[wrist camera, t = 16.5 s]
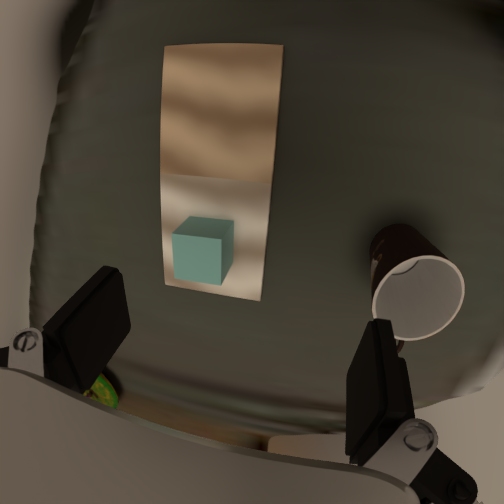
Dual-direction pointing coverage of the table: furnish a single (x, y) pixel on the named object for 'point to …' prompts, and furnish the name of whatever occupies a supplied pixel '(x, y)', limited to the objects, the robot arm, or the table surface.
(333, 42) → the table surface
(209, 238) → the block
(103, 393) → the pirate figurine
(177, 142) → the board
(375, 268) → the coffee mug
